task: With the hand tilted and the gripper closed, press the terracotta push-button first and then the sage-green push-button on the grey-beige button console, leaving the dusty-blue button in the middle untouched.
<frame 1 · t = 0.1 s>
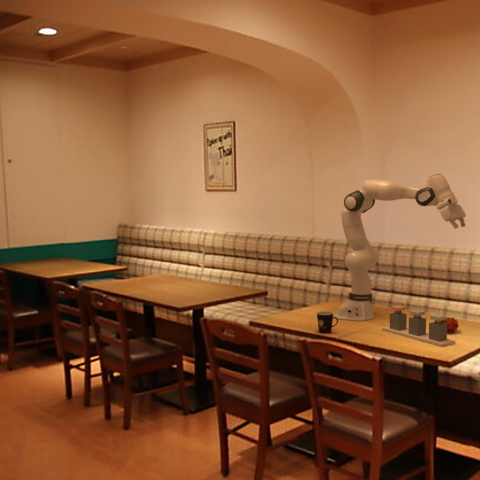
hand: (460, 227, 311), 54 cm above the table, tool tilted 30°, fingers open, 8 cm apart
dragon fruit: (449, 332, 319), on the table
coffee mug: (326, 332, 322), on the table
terracotta button: (398, 311, 320), point 11 cm above the table, slide at 0.0 cm
sage button: (438, 320, 299), point 11 cm above the table, slide at 0.0 cm
button console: (417, 336, 310), on the table
blue button: (417, 315, 309), point 11 cm above the table, slide at 0.0 cm
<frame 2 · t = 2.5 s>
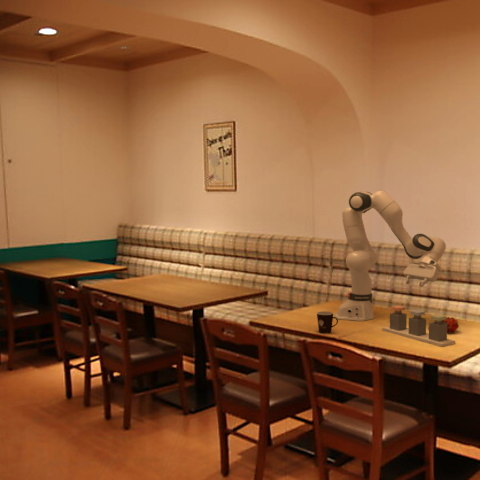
hand: (413, 284, 325), 23 cm above the table, tool tilted 45°, fingers open, 8 cm apart
nothing on the table moved.
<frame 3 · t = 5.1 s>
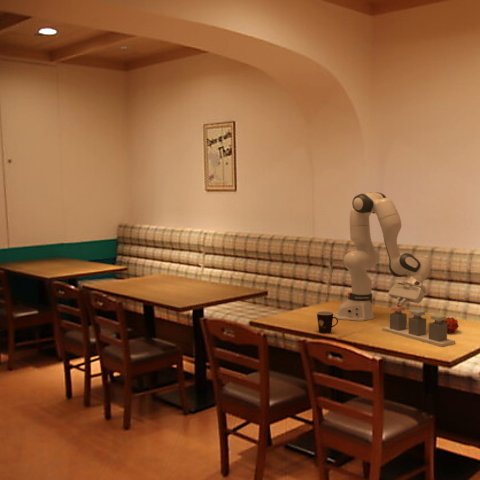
hand: (398, 305, 319), 14 cm above the table, tool tilted 45°, fingers closed, pressing on terracotta button
terracotta button: (398, 311, 320), point 11 cm above the table, slide at 0.1 cm, touching gripper
everything else where it was.
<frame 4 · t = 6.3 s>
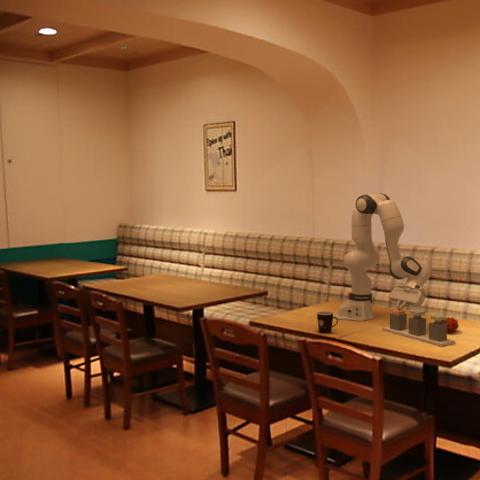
hand: (398, 309, 320), 12 cm above the table, tool tilted 45°, fingers closed
terracotta button: (398, 315, 320), point 9 cm above the table, slide at 2.0 cm, touching button console
everything else where it was.
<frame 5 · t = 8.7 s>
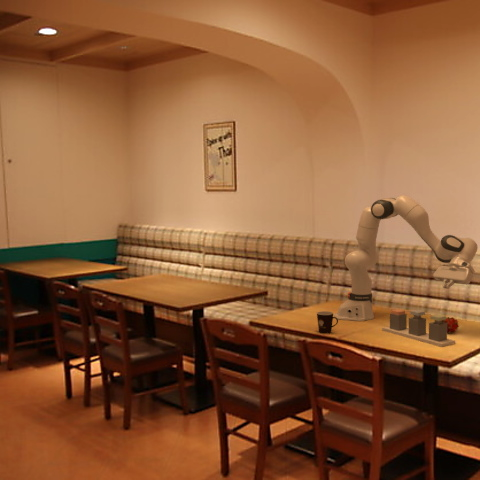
hand: (445, 287, 308), 25 cm above the table, tool tilted 45°, fingers closed
nothing on the table moved.
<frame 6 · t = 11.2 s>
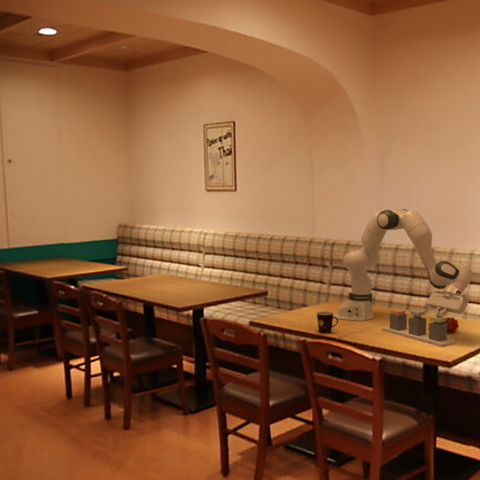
hand: (438, 316, 298), 13 cm above the table, tool tilted 45°, fingers closed, pressing on sage button
sage button: (438, 322, 299), point 10 cm above the table, slide at 0.8 cm, touching gripper
everything else where it was.
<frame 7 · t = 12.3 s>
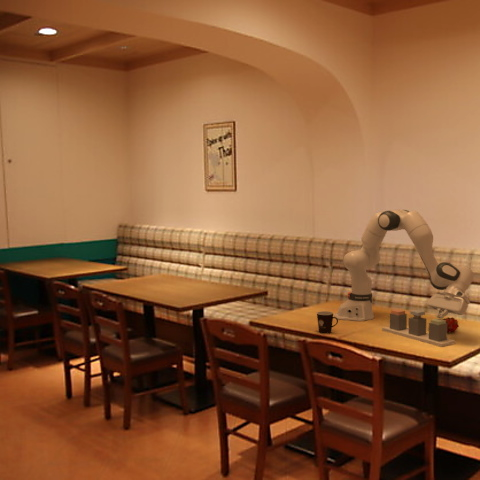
hand: (439, 317, 299), 12 cm above the table, tool tilted 45°, fingers closed
sage button: (438, 324, 299), point 9 cm above the table, slide at 2.0 cm, touching button console
everything else where it was.
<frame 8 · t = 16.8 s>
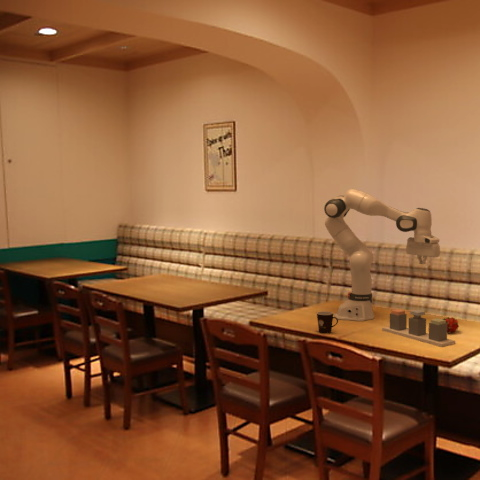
hand: (422, 264, 331), 33 cm above the table, tool pointing down, fingers closed
nothing on the table moved.
at the end: terracotta button slide at 2.0 cm; sage button slide at 2.0 cm; blue button slide at 0.0 cm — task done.
